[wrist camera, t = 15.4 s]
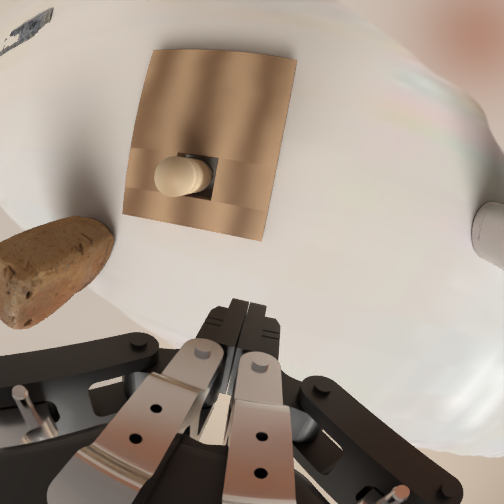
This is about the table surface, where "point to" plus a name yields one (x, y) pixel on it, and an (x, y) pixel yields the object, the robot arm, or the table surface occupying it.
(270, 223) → the table surface
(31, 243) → the block
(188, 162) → the peg
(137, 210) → the board
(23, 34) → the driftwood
